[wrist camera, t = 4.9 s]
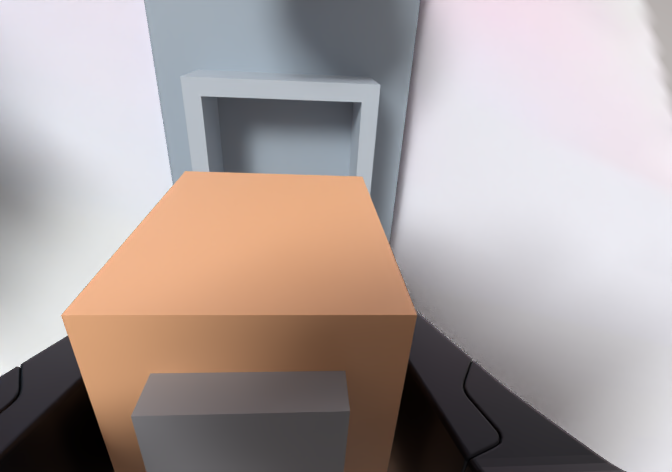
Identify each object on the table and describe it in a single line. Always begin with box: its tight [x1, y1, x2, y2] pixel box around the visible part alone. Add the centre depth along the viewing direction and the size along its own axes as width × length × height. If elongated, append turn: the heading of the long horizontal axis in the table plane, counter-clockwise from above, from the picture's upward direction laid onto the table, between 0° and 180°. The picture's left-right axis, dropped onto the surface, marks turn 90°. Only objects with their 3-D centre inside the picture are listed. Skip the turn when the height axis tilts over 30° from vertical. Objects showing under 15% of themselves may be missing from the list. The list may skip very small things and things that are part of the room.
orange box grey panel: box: [61, 171, 417, 472], centre depth 8 cm, size 5×4×6 cm
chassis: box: [144, 0, 420, 243], centre depth 15 cm, size 16×10×4 cm, turn 177°
